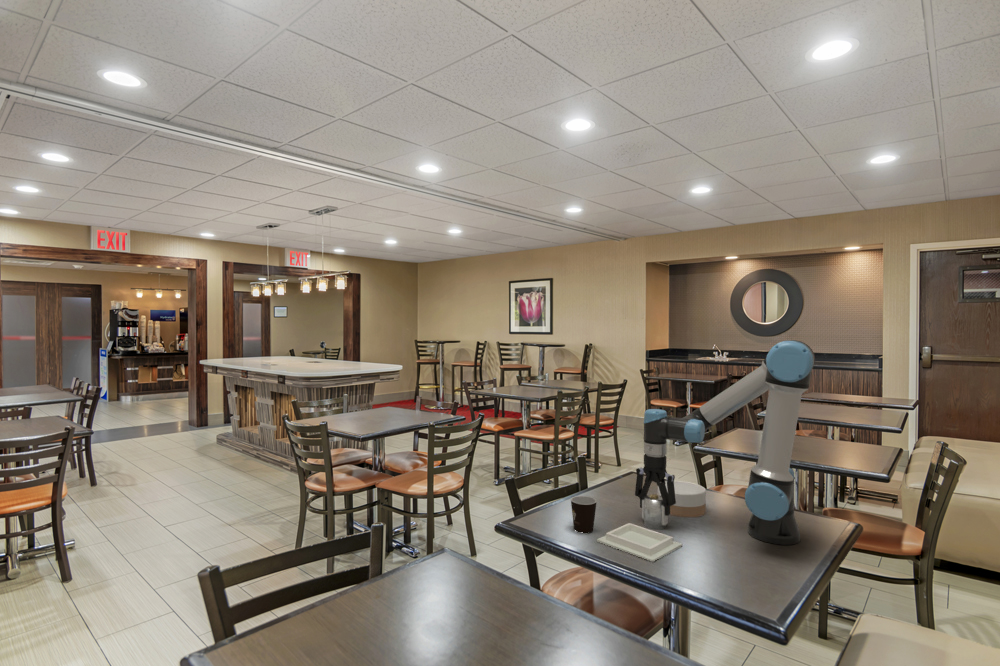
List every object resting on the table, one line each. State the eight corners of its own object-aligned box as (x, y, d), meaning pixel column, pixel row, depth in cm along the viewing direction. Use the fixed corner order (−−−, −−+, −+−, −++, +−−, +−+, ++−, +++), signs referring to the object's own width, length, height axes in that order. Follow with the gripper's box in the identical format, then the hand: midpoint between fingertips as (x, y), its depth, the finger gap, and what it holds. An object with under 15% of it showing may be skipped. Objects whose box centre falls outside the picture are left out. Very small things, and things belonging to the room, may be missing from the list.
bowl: (654, 500, 205) (654, 479, 204) (699, 502, 202) (699, 481, 202) (661, 516, 188) (661, 493, 187) (711, 518, 185) (711, 495, 185)
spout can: (669, 525, 178) (669, 493, 178) (658, 531, 174) (658, 497, 174) (651, 520, 184) (651, 488, 183) (640, 525, 179) (640, 492, 179)
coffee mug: (596, 535, 170) (596, 505, 169) (569, 533, 171) (569, 503, 171) (596, 522, 181) (597, 494, 181) (572, 520, 183) (572, 492, 183)
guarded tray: (682, 546, 161) (682, 537, 161) (652, 563, 150) (652, 553, 150) (627, 528, 176) (627, 519, 176) (596, 541, 165) (596, 533, 165)
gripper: (624, 451, 183) (623, 515, 183) (676, 462, 168) (675, 532, 169) (636, 447, 188) (635, 510, 188) (687, 458, 174) (687, 526, 174)
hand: (654, 520), depth 179 cm, fingers closed on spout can, 7 cm apart
